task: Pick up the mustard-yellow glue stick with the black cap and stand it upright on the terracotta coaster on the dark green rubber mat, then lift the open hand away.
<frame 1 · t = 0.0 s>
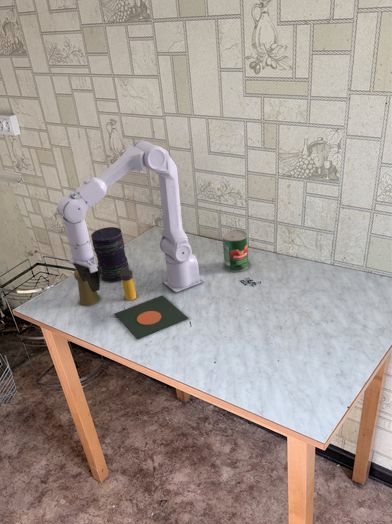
hand: (91, 285, 145), 10 cm above the table, tool pointing down, fingers open, 7 cm apart
canned tomato: (236, 266, 167), on the table
olive pawn: (90, 300, 159), on the table
storage jar: (115, 275, 171), on the table
mat: (150, 316, 147), on the table
glue stick: (131, 297, 158), on the table
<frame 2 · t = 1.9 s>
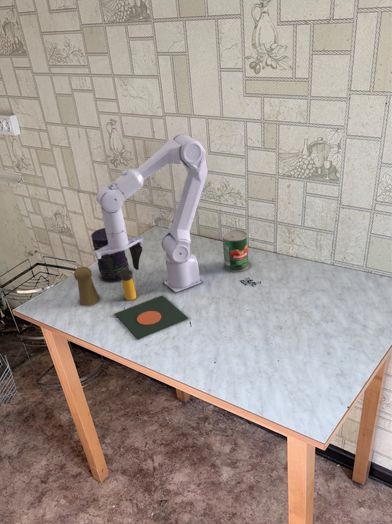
hand: (124, 272, 152), 9 cm above the table, tool pointing down, fingers open, 7 cm apart
nothing on the table moved.
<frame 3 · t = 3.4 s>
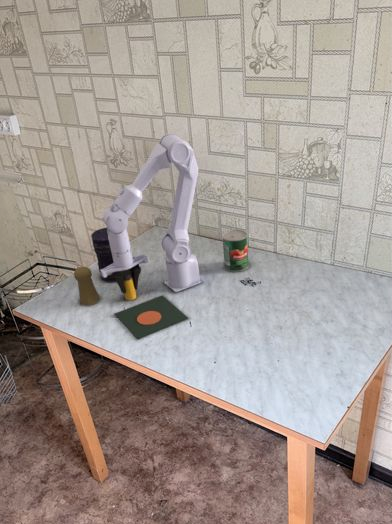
hand: (129, 290, 156), 3 cm above the table, tool pointing down, fingers closed on glue stick, 3 cm apart
glue stick: (130, 297, 158), on the table, touching gripper
everything else where it was.
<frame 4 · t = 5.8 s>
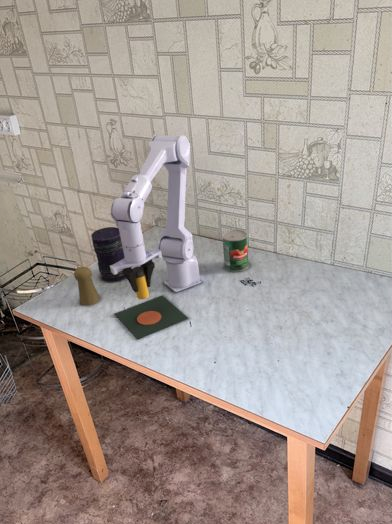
hand: (141, 288, 142), 10 cm above the table, tool pointing down, fingers closed on glue stick, 3 cm apart
glue stick: (143, 296, 143), point 7 cm above the table, touching gripper
everything else where it was.
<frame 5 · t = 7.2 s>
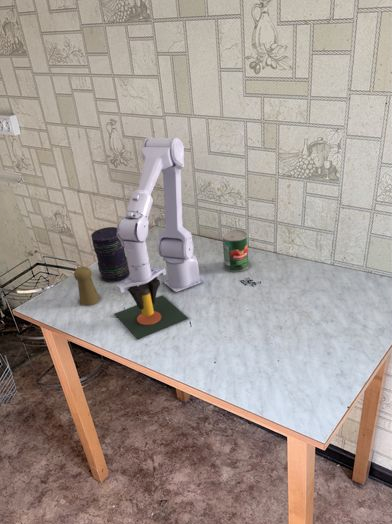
hand: (146, 305, 143), 5 cm above the table, tool pointing down, fingers closed on glue stick, 3 cm apart
glue stick: (147, 313, 145), point 2 cm above the table, touching gripper
everything else where it was.
when the fingers open (3 cm above the table, at t = 8.1 s): glue stick stays where it is, resting on mat.
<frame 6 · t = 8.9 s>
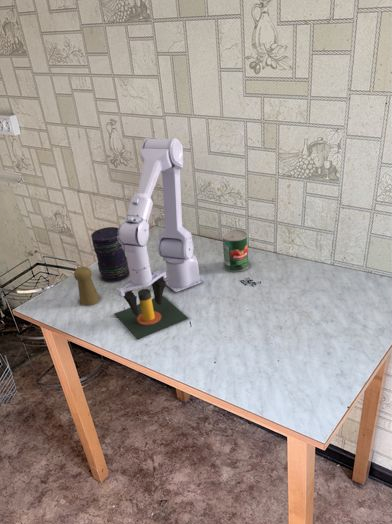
hand: (147, 308, 144), 4 cm above the table, tool pointing down, fingers open, 7 cm apart
glue stick: (148, 317, 146), point 1 cm above the table, touching mat
everything else where it was.
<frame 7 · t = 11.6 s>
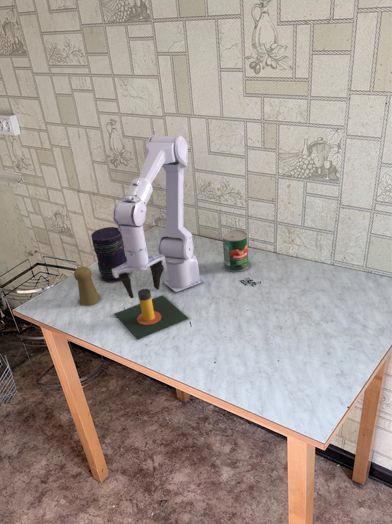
hand: (144, 292, 141), 9 cm above the table, tool pointing down, fingers open, 7 cm apart
nothing on the table moved.
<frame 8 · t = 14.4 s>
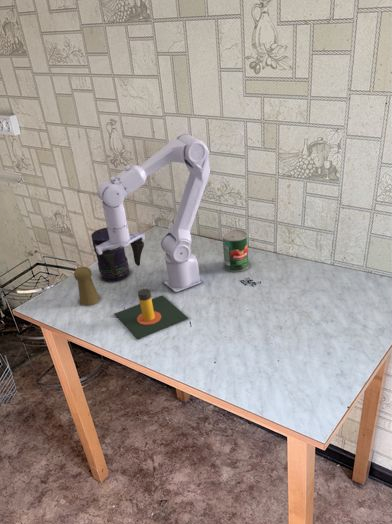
hand: (126, 268, 151), 10 cm above the table, tool pointing down, fingers open, 7 cm apart
nothing on the table moved.
at the end: glue stick 0.0 cm from the target spot on the mat, point 0.6 cm above the mat's base; glue stick tilted 0°; the gripper is holding nothing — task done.
